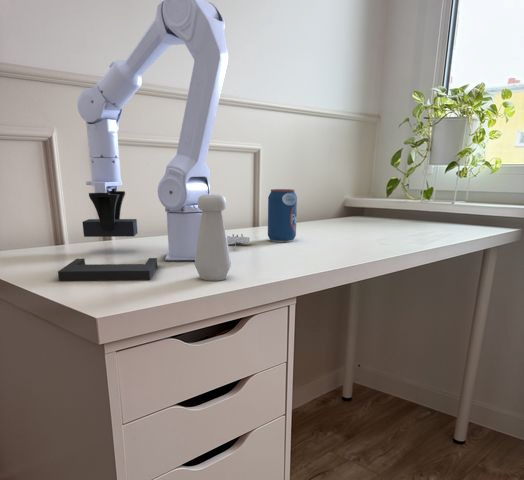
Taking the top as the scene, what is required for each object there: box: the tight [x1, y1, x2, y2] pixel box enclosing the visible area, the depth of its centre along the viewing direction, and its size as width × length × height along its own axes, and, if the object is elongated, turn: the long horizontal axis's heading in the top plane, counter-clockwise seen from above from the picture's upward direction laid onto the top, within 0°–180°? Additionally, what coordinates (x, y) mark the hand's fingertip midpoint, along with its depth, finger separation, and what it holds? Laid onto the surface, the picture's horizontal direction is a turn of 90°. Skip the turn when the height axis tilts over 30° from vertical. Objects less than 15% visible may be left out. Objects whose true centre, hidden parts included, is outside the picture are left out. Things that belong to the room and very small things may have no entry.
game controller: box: [226, 233, 250, 248], centre depth 117 cm, size 6×12×3 cm, turn 16°
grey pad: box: [82, 218, 138, 238], centre depth 107 cm, size 10×6×3 cm, turn 95°
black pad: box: [57, 257, 158, 282], centre depth 86 cm, size 14×12×2 cm
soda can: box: [267, 188, 298, 243], centre depth 125 cm, size 7×7×12 cm
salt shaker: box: [194, 193, 232, 282], centre depth 81 cm, size 6×6×13 cm
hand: (110, 228), depth 107 cm, fingers closed on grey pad, 5 cm apart
